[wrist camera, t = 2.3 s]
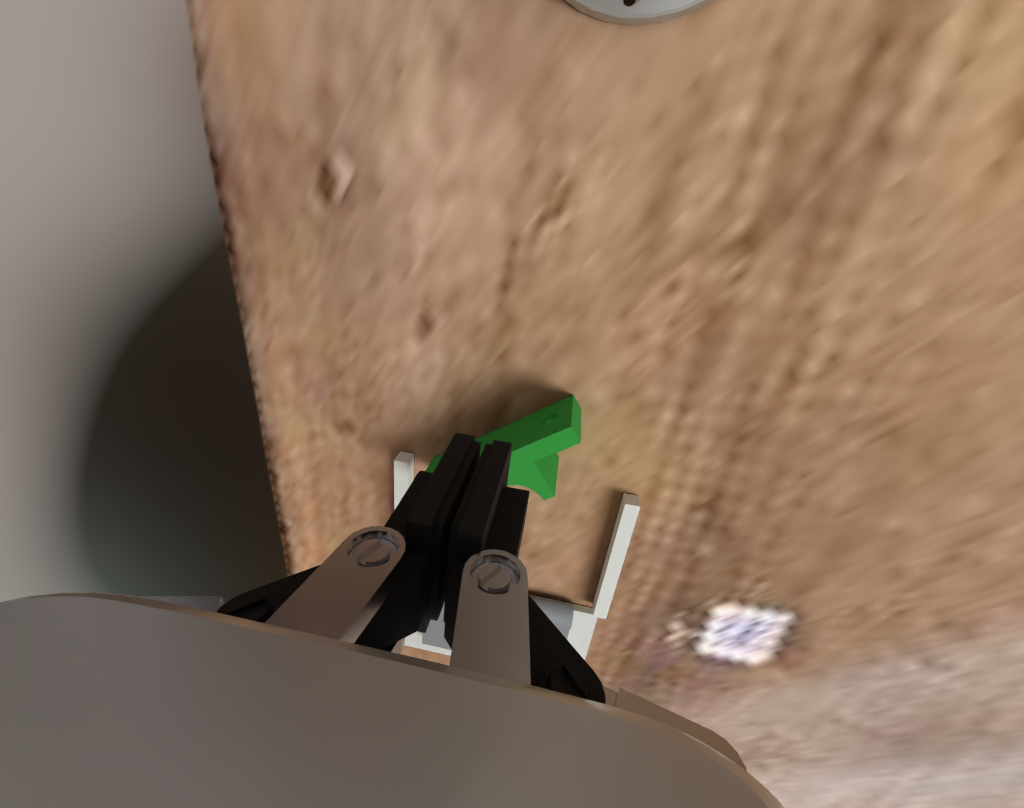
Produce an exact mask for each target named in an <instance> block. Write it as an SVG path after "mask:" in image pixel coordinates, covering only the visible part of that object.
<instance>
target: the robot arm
mask: <svg viewBox="0 0 1024 808" xmlns="http://www.w3.org/2000/svg"><path fill="white" fill-rule="evenodd" d="M565 1H566V2H568V3H569V4H571V5H572V6H573V7H575V8H576V9H577V10H579V11H580V12H583V13H585V14H587V15H590V16H592V17H595V18H597V19H599V20H602V21H604V22H610V23H617V24H623V25H630V26H634V25H645V24H656V23H662V22H665V21H668V20H671V19H674V18H677V17H680V16H684V15H687V14H689V13H691V12H693V11H695V10H697V9H698V8H700V7H702V6H704V5H706V4H707V3H709V2H711V1H713V0H635V3H634V4H633V5H632V6H629V7H628V6H625V4H624V2H623V0H565ZM480 450H481V442H477V441H475V436H471V435H465V434H460V433H456V434H455V435H454V437H453V439H452V441H451V442H450V444H449V446H448V448H447V449H446V451H445V453H444V455H443V456H442V458H441V460H440V462H439V463H438V465H437V467H436V469H435V470H434V472H433V473H431V472H426V471H419V473H418V474H417V475H416V477H415V478H414V480H413V482H412V483H411V485H410V486H409V488H408V490H407V491H406V493H405V494H404V496H403V498H402V499H401V501H400V502H399V504H398V505H397V507H396V509H395V510H394V512H393V513H392V515H391V517H390V518H389V520H388V521H387V523H386V525H385V526H371V527H367V528H363V529H360V530H358V531H356V532H354V533H352V534H351V535H350V536H349V537H347V538H346V539H345V540H344V541H343V542H342V543H341V544H340V545H339V546H338V547H337V548H336V550H335V551H334V552H333V553H332V554H331V555H330V556H329V557H328V558H327V559H326V560H325V561H324V562H323V563H322V564H321V565H319V566H316V567H313V568H311V569H308V570H305V571H302V572H300V573H297V574H294V575H291V576H289V577H286V578H283V579H280V580H278V581H275V582H273V583H269V584H267V585H264V586H261V587H259V588H256V589H253V590H250V591H248V592H245V593H243V594H241V595H238V596H236V597H234V598H232V599H231V600H229V601H228V602H223V599H222V597H158V596H157V597H154V596H126V595H117V594H106V593H57V594H47V595H39V596H29V597H24V598H18V599H13V600H9V601H5V602H1V603H0V808H784V807H783V806H782V804H781V803H780V802H779V801H778V800H777V799H776V798H775V797H774V796H773V795H772V794H771V793H770V791H769V790H768V789H766V788H765V787H764V786H763V785H762V784H761V783H760V782H758V781H757V780H756V779H755V778H754V777H753V776H752V775H750V774H749V773H748V772H747V770H746V767H745V765H744V763H743V762H742V760H741V758H740V756H739V755H738V753H737V752H736V750H735V749H734V748H733V747H732V746H731V745H730V744H729V743H728V742H727V741H726V740H725V739H724V738H722V737H721V736H719V735H718V734H716V733H715V732H713V731H712V730H709V729H707V728H705V727H703V726H701V725H699V724H697V723H694V722H692V721H690V720H688V719H686V718H684V717H682V716H680V715H677V714H675V713H673V712H671V711H669V710H667V709H665V708H662V707H660V706H658V705H656V704H654V703H652V702H650V701H647V700H645V699H643V698H641V697H639V696H637V695H635V694H633V693H630V692H628V691H626V690H624V689H622V688H620V687H619V688H618V691H617V692H615V691H613V690H611V689H609V688H607V687H605V686H603V685H602V683H601V681H600V680H599V678H598V677H597V675H596V674H595V672H594V671H593V670H592V668H591V667H590V666H589V665H588V664H587V663H586V661H585V660H584V659H583V658H582V657H581V655H580V654H579V653H578V652H577V651H576V650H575V648H574V647H573V646H572V645H571V644H570V643H569V641H568V640H567V639H566V638H565V637H564V635H563V634H562V633H561V632H560V631H559V630H558V628H557V627H556V626H555V625H554V624H553V622H552V621H551V620H550V619H549V618H548V617H547V615H546V614H545V613H544V612H543V611H542V610H541V608H540V607H539V606H538V605H537V604H536V602H535V601H534V600H533V599H532V598H531V597H530V595H529V594H528V578H527V572H526V568H525V566H524V565H523V563H522V562H521V561H520V560H519V559H518V555H519V549H520V544H521V539H522V534H523V528H524V522H525V517H526V511H527V504H528V498H529V491H526V490H521V489H516V488H510V487H507V482H508V475H509V467H510V460H511V452H512V443H510V442H504V441H499V440H494V441H493V443H492V444H488V443H486V444H485V447H484V449H483V451H482V454H481V456H480ZM444 602H445V604H444ZM443 605H444V619H443V620H444V623H445V629H444V638H445V640H446V641H447V643H448V645H449V646H450V648H451V650H452V651H451V659H450V666H448V665H444V664H440V663H435V662H431V661H427V660H422V659H418V658H414V657H410V656H405V655H401V654H400V652H401V650H402V648H403V645H404V642H405V637H407V636H409V635H411V634H413V633H415V632H417V631H418V632H422V633H426V630H427V628H428V625H429V623H430V620H435V621H437V620H438V619H439V616H440V613H441V611H442V608H443Z"/></svg>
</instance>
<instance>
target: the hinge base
mask: <svg viewBox="0 0 1024 808" xmlns="http://www.w3.org/2000/svg"><path fill="white" fill-rule="evenodd" d="M413 480H414V454H412V453H407V452H402V451H400V453H399V454H398V455H397V457H396V458H395V459H394V510H395V509H396V507H397V505H398V504H399V502H400V501H401V499H402V498H403V496H404V494H405V493H406V491H407V490H408V488H409V486H410V485H411V483H412V482H413ZM639 510H640V502H639V496H638V495H632V494H627V493H624V494H623V497H622V501H621V505H620V508H619V512H618V515H617V519H616V522H615V526H614V530H613V533H612V537H611V540H610V544H609V547H608V551H607V555H606V558H605V562H604V565H603V569H602V572H601V576H600V580H599V583H598V587H597V590H596V594H595V597H594V601H593V608H590V607H585V606H581V605H576V604H571V603H566V602H562V601H557V600H552V599H548V598H543V597H538V596H533V595H530V597H531V598H532V599H533V600H534V601H535V602H536V604H537V605H538V606H539V607H540V608H541V610H542V611H543V612H544V613H545V614H546V615H547V617H548V618H549V619H550V620H551V621H552V622H553V624H554V625H555V626H556V627H557V628H558V630H559V631H560V632H561V633H562V634H563V635H564V637H565V638H566V639H567V640H568V641H569V643H570V644H571V645H572V646H573V647H574V648H575V650H576V651H577V652H578V653H579V654H580V655H581V657H582V658H583V659H584V660H585V658H586V655H587V651H588V648H589V644H590V641H591V638H592V634H593V631H594V627H595V624H596V621H597V617H598V618H603V619H606V617H607V614H608V611H609V607H610V604H611V601H612V598H613V594H614V591H615V588H616V585H617V581H618V578H619V575H620V572H621V568H622V565H623V562H624V559H625V555H626V552H627V549H628V545H629V542H630V539H631V536H632V532H633V529H634V526H635V523H636V519H637V516H638V513H639ZM444 604H445V602H444ZM443 619H444V605H443V608H442V611H441V613H440V616H439V619H438V620H437V621H435V620H430V623H429V625H428V628H427V630H426V633H422V632H418V631H417V632H415V633H413V634H411V635H409V636H407V637H405V642H404V645H406V646H410V647H415V648H419V649H423V650H428V651H432V652H437V653H441V654H445V655H450V656H451V651H452V650H451V648H450V646H449V645H448V643H447V641H446V640H445V638H444V629H445V623H444V620H443Z"/></svg>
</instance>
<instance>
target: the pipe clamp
mask: <svg viewBox="0 0 1024 808" xmlns="http://www.w3.org/2000/svg"><path fill="white" fill-rule="evenodd" d="M494 440H499V441H504V442H510V443H512V452H511V460H510V467H509V475H508V482H507V485H521V486H525V487H528V488H530V489H532V490H534V491H535V492H536V493H538V494H539V495H540V496H541V497H542V499H543V500H546V499H548V498H551V497H554V496H555V489H556V479H557V470H558V461H559V457H558V455H557V453H556V452H559V451H561V450H564V449H566V448H569V447H571V446H573V445H576V444H578V443H580V440H581V408H580V406H579V404H578V402H577V400H576V399H575V397H574V395H571V396H569V397H567V398H565V399H563V400H560V401H558V402H556V403H554V404H551V405H549V406H547V407H545V408H543V409H540V410H538V411H536V412H534V413H532V414H529V415H527V416H525V417H523V418H520V419H518V420H516V421H514V422H512V423H509V424H507V425H505V426H503V427H501V428H498V429H496V430H494V431H492V432H490V433H487V434H485V435H483V436H481V437H478V438H476V439H475V441H477V442H481V450H480V456H481V454H482V451H483V449H484V447H485V444H486V443H488V444H492V443H493V441H494ZM443 455H444V453H443V454H441V455H439V456H436V457H434V458H433V459H432V461H431V463H430V464H429V466H428V468H427V469H426V472H431V473H433V472H434V470H435V469H436V467H437V465H438V463H439V462H440V460H441V458H442V456H443Z"/></svg>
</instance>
